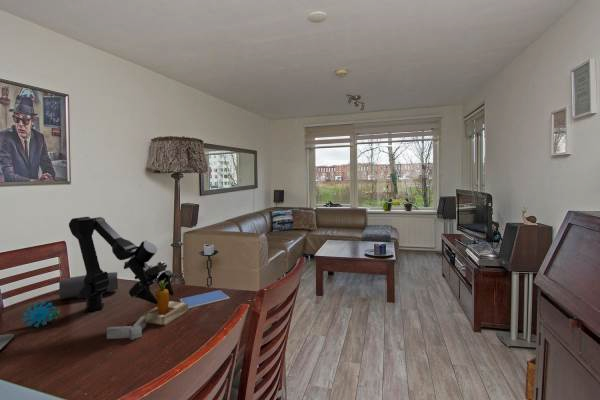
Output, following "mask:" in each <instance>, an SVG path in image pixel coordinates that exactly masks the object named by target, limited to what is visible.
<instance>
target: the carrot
mask: <svg viewBox="0 0 600 400" xmlns="http://www.w3.org/2000/svg"><path fill="white" fill-rule="evenodd" d="M167 283H168V282H166V283H165V284H164V282H162V281H160V283H159V284H158V287H159V289H158V290H156V291H155V298H156V300H157V301H158V303H157V304H156V307H157V308H158V312H159V314H160V315H166V313H167V310H168V304H169V301H170V294H169V292H168V290H167V289H164V288H165V286H166V284H167ZM163 284H164V285H163Z"/></svg>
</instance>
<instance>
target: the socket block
mask: <svg viewBox="0 0 600 400" xmlns="http://www.w3.org/2000/svg"><path fill="white" fill-rule="evenodd" d="M188 311H189V309H188V303H181V301H173V300H172V301H171V300H169V304H168V310H167V313H166V315H160V314H159V312H158V308H157V306H156V307H154V308H152V309H150V310H149V311H146V312H145V313H143V314H142V316H146V324H155V325H162V326H166V325H168V324H169V323H171V322H172V321H174V320H175V319H177V318H179V317H181V315H183V314H185V313H186V312H188Z"/></svg>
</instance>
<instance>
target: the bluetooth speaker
mask: <svg viewBox="0 0 600 400" xmlns="http://www.w3.org/2000/svg"><path fill="white" fill-rule="evenodd" d="M107 273H108V278H109V285H108V287H107V291H106V292H103V293H102V295H104V293H107V292H112V291H116V290H119V284H118V283H119V282H118V271H117V272H116V271H115V272H114V271H113V272H107ZM85 276H86V274H85V275H78V276H72V277H71V276H70V277H65V278H61V279H59V282H58V284H59V285H58V287H59V288H58V295H59V298H60V299H65V298H67V299H69V298H76V299H82V298H83V299H84V297H80V294H79V292H80V291H81V290H82V288H83V287H84V286H85V285H84V279H85Z"/></svg>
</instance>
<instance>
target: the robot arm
mask: <svg viewBox="0 0 600 400" xmlns="http://www.w3.org/2000/svg"><path fill="white" fill-rule="evenodd" d="M68 228H69V230H70V232H71V233H70V234H72V236H73V237H74V238H75V239H77V241H78V245H79V249H80V253H81V256H82V260H83V261H82V262H83V263H84V268H85V272H86V273H85V275H86V276H85V279H84V285H85V286H84V287H83V288H82V290H81V291H80V292H79V294H80V297H84V298H85V308H84V313H88V312H95V311H101V310H103V309H104V305H105V303H104V302H103V294H104V293H107V292H106V291H107V287H108V285H109V278H108V273H109V272H107V271H103V270H102V269H101V267H100V263H99V260H98V259H99V258H98V255H97V251H96V248H95V244H94V240H93V234H94V232H95V231H96V232H97V233H98V234H99V235H100V237H102V238H103V240H104V241H105V242H106V243H107V244H108V245H110V247H111V248H112V249H111V251H112V254H113V255H114V256H115V258H116V259H117V260H118V261H124V265H123V269H124V270H127V269H129V270H130V271H131V272H132V273H133V274H134V275H135V276H134V277H133V278H134V280H138V282H136V283H134V284H133V286H132V287H131V288H130V289H129V290H128V291H129V292H128V294H129V296H130V297H131V298H132V299H133V298H135V299H141V300H144V301H146V302H150V303H152V304H154V305H157V303H158V301H157V300H156V296H155V295H153V292H151V286H154V285H155V284H157V285H159V283H160V281H162V282H164V284H165V283H166V282H168V283H167V284H166V286H165V288H164V289H167V290H168V292H169V296H171V297H173V296H174V294H175V293H174V291H173V287H172V283H171V279H172V278H173V274H174V273H173V272H172V271H171V270H169V269H168V270H167V269H166V268H168V265H167V263H166V262H165V261H164V260H162V261H159V262H157V264H156V265H154V266H153V265H148V264H147V263H148V262H150V261H151V259H153V257H154V256H155V255H156V254H157V252H158V250H159V249H158V247H157V245H155V244H154V243H152V242H148V240H143V241H141V243H140V245H139V246H138V245H137V246H136V244H135V243H133V241H132V242H131V241H130V240H128V239H124V238H123V237H122V236H121V235H120V234H119V233H118V232H116V230H115V229H114V228H113V227H111V226H110V225H109V224H108V222H107V221H106V219H105V218H104V217H101V216H100V217H99V216H98V217H93V218H91V217H90V216H82V217H75V218H74V217H73V218H71V219H70V221H69V223H68ZM127 259H129V260H127ZM125 260H127V261H125ZM164 284H163V285H164ZM103 292H104V293H103ZM102 293H103V294H102ZM84 298H83V299H84Z"/></svg>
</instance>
